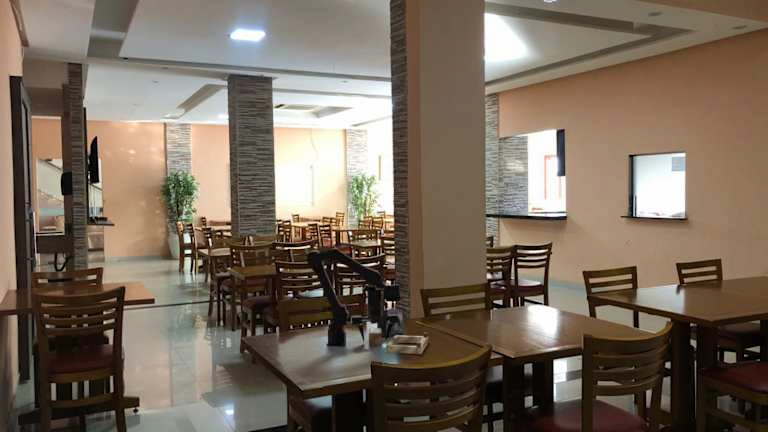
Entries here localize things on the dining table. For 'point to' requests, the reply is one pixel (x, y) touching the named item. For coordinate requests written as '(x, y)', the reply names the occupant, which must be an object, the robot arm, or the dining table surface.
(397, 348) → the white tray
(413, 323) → the dining table surface
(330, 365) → the dining table surface
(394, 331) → the small box
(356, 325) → the robot arm
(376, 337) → the frame
